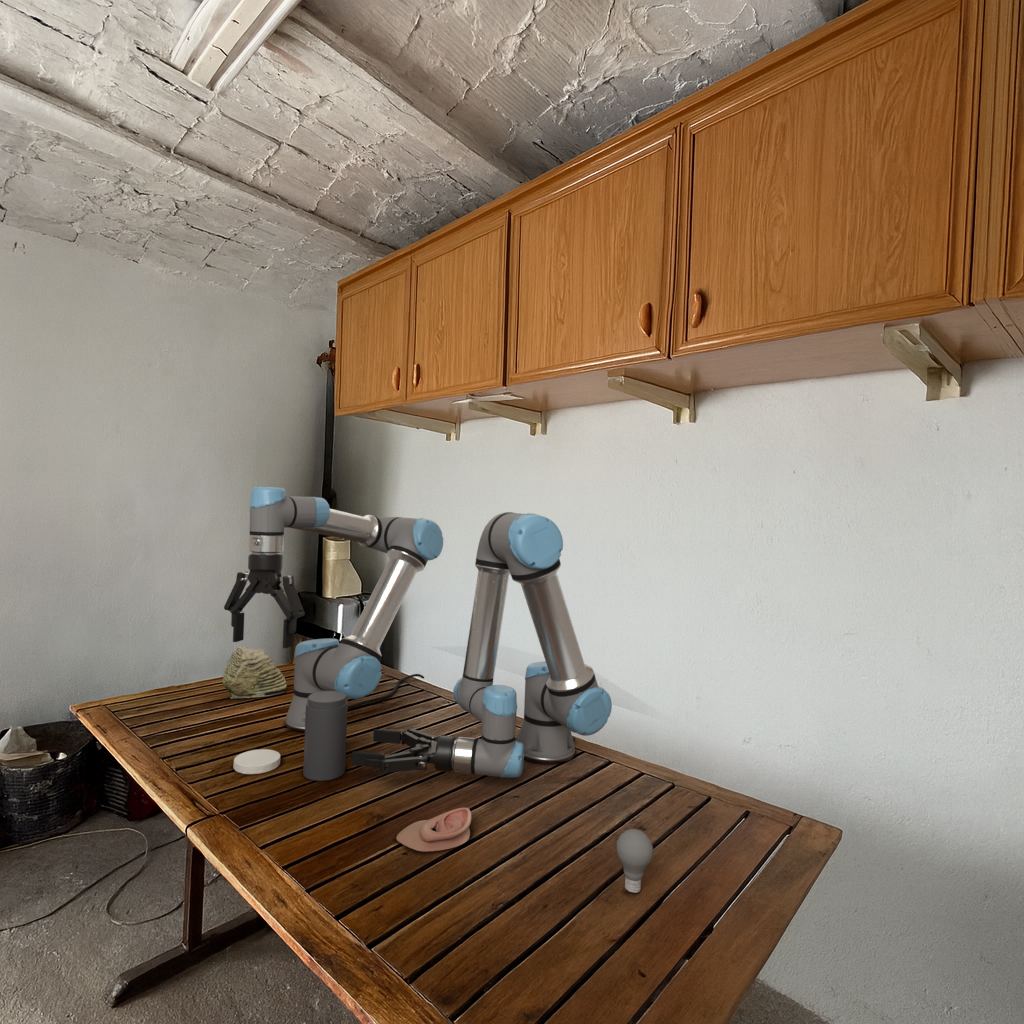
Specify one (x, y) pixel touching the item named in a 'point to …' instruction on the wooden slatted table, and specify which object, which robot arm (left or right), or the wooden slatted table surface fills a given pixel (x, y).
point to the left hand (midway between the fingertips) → (262, 644)
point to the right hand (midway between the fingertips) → (363, 746)
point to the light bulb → (634, 857)
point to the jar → (325, 735)
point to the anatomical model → (438, 831)
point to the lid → (256, 761)
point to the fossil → (252, 674)
